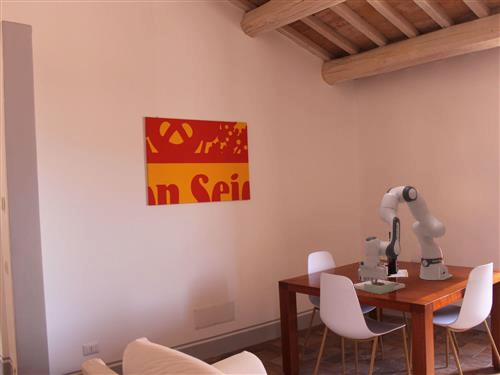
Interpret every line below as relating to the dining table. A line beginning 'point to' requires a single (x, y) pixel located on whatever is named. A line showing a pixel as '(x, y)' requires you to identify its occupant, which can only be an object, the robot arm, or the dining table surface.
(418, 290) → the dining table surface
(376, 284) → the block
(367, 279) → the container
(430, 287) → the dining table surface
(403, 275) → the dining table surface
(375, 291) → the trap board
